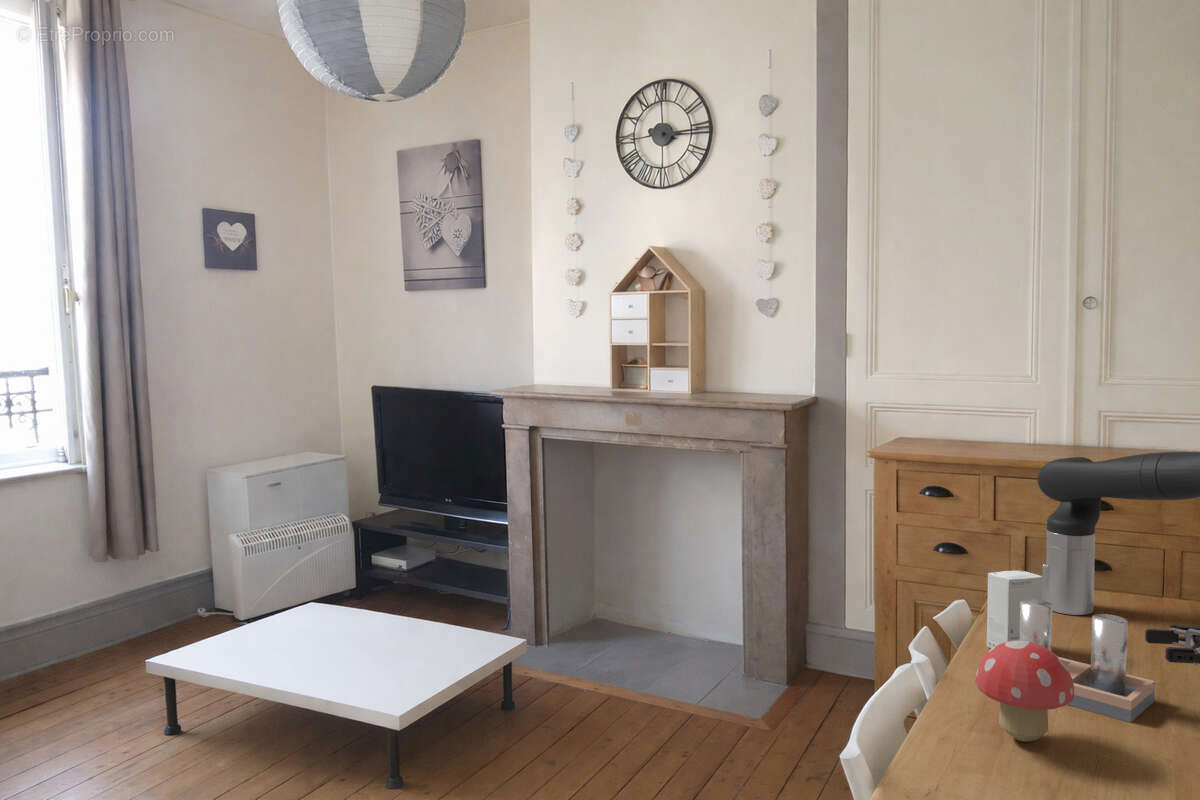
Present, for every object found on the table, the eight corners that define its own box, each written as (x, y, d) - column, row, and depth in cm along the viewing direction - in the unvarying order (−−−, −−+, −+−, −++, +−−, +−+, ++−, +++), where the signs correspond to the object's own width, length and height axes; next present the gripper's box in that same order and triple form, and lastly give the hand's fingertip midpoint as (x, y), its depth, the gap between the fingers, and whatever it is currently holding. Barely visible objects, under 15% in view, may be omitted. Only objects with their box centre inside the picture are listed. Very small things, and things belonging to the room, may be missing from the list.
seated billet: (1014, 670, 153) (1015, 603, 152) (1026, 663, 156) (1027, 597, 155) (1044, 679, 149) (1045, 610, 148) (1055, 670, 152) (1057, 603, 151)
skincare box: (1007, 657, 164) (1008, 580, 163) (984, 646, 170) (985, 572, 168) (1043, 651, 166) (1044, 575, 165) (1019, 641, 172) (1020, 567, 171)
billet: (1085, 689, 144) (1087, 619, 143) (1097, 681, 147) (1099, 611, 146) (1118, 699, 140) (1120, 626, 139) (1130, 690, 143) (1132, 619, 142)
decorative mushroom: (989, 712, 141) (990, 622, 140) (1082, 735, 132) (1084, 639, 131) (963, 744, 131) (964, 647, 129) (1062, 771, 122) (1064, 667, 121)
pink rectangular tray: (990, 682, 153) (990, 663, 153) (1018, 665, 160) (1018, 646, 160) (1130, 722, 136) (1131, 701, 136) (1154, 701, 143) (1154, 681, 143)
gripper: (1248, 612, 144) (1139, 608, 148) (1296, 643, 130) (1174, 637, 134) (1247, 657, 145) (1138, 651, 149) (1294, 691, 131) (1173, 684, 135)
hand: (1155, 644), depth 141 cm, fingers open, 8 cm apart
